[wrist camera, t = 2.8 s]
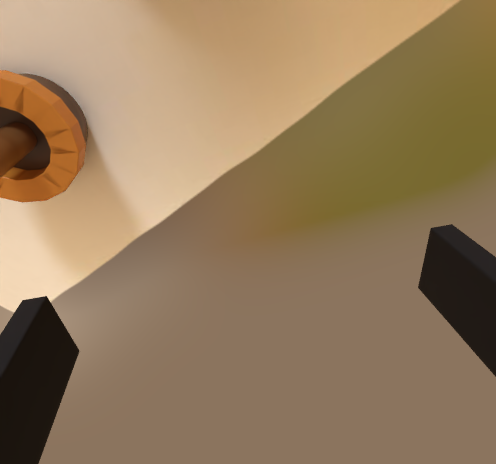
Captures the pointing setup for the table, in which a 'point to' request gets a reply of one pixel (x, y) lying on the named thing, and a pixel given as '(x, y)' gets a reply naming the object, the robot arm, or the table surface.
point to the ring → (57, 134)
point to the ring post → (30, 133)
